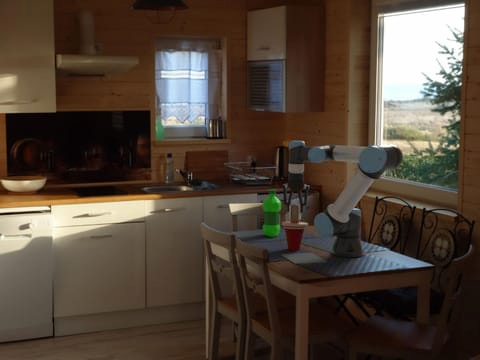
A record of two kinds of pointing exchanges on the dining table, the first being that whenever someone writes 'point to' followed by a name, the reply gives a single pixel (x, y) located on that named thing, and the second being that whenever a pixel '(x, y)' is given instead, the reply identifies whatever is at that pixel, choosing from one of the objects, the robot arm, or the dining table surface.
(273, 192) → the plastic bottle
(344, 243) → the robot arm
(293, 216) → the lid
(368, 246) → the dining table surface
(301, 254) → the mat
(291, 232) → the plastic cup
